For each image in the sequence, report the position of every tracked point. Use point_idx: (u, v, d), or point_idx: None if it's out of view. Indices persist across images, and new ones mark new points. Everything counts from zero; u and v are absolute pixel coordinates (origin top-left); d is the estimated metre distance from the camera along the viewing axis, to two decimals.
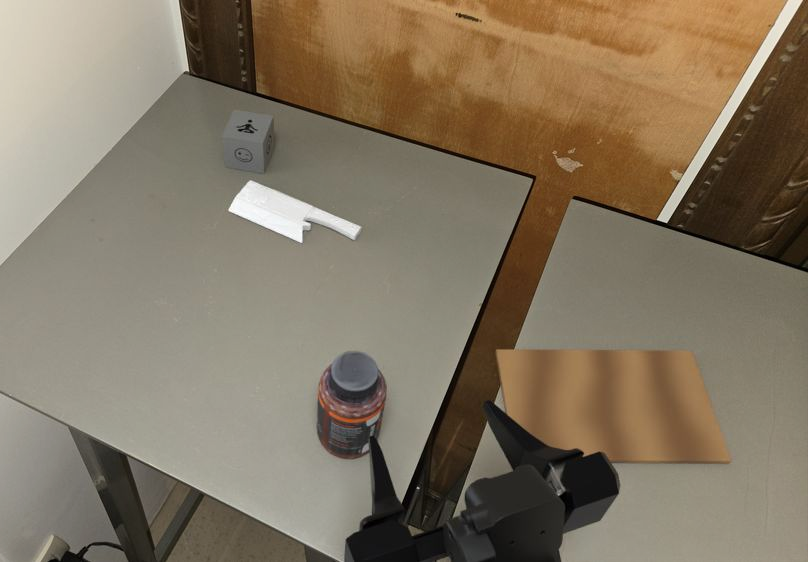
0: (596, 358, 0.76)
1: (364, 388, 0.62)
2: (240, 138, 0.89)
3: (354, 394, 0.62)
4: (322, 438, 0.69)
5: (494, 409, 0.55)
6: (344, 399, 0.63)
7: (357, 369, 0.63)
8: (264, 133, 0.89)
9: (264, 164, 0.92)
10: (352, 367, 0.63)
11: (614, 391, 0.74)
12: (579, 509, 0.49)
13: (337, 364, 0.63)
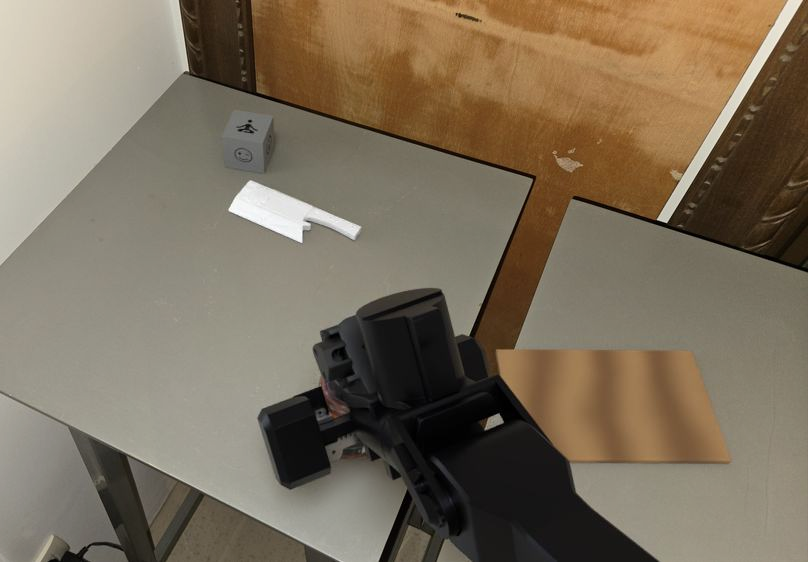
0: (596, 358, 0.76)
1: None
2: (240, 138, 0.89)
3: None
4: None
5: None
6: None
7: None
8: (264, 133, 0.89)
9: (264, 164, 0.92)
10: None
11: (614, 391, 0.74)
12: None
13: None
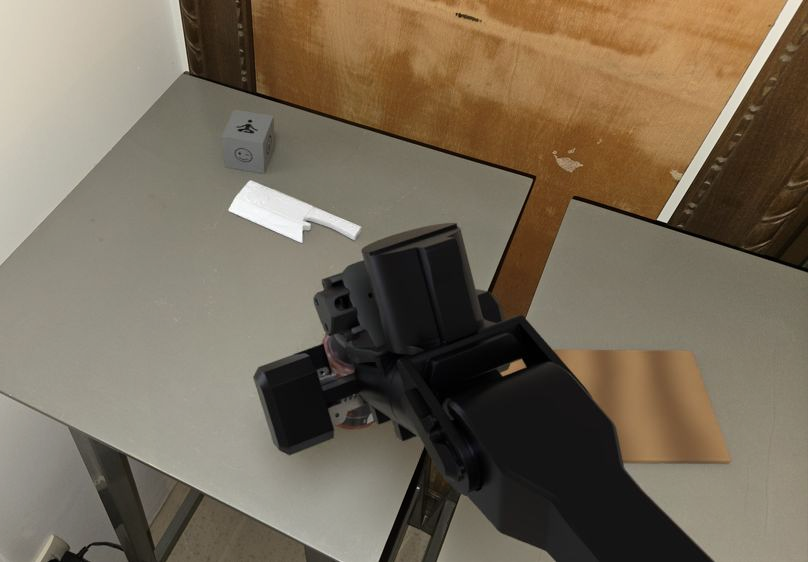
0: (596, 358, 0.76)
1: None
2: (240, 138, 0.89)
3: None
4: None
5: None
6: (348, 361, 0.58)
7: None
8: (264, 133, 0.89)
9: (264, 164, 0.92)
10: None
11: (614, 391, 0.74)
12: None
13: None
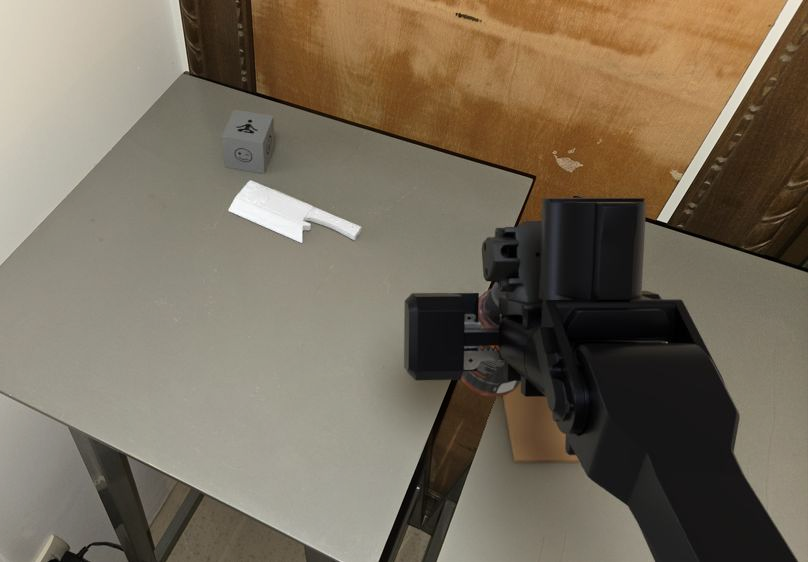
0: None
1: None
2: (240, 138, 0.89)
3: None
4: None
5: None
6: (496, 321, 0.60)
7: None
8: (264, 133, 0.89)
9: (264, 164, 0.92)
10: None
11: None
12: None
13: None
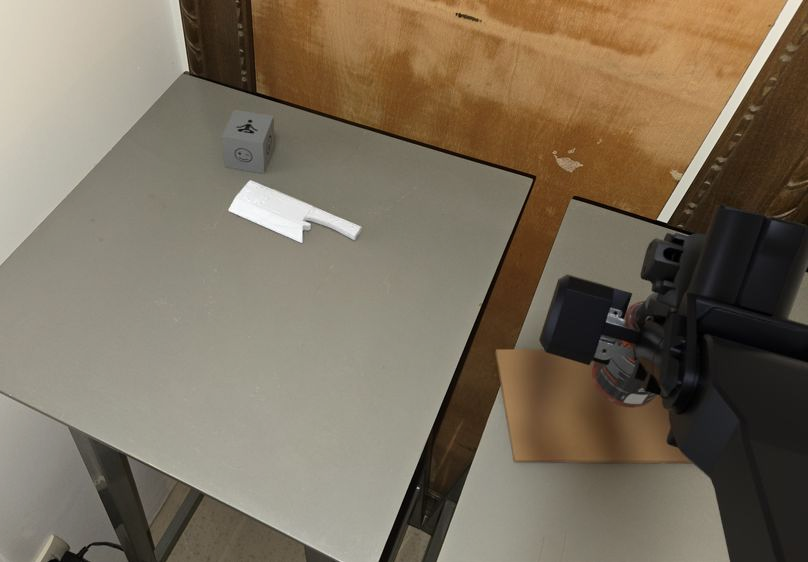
0: None
1: None
2: (240, 138, 0.89)
3: None
4: (596, 366, 0.68)
5: None
6: None
7: None
8: (264, 133, 0.89)
9: (264, 164, 0.92)
10: None
11: None
12: None
13: (657, 295, 0.61)
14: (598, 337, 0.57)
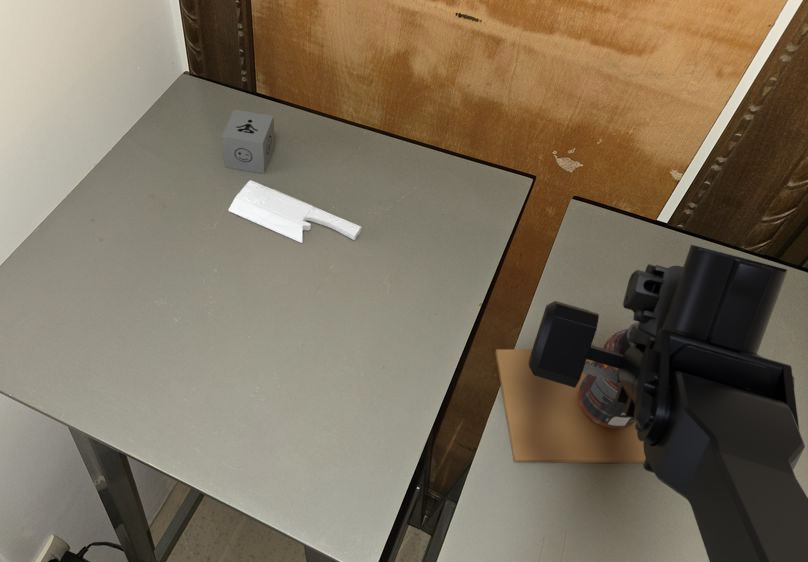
0: None
1: None
2: (240, 138, 0.89)
3: None
4: (582, 389, 0.72)
5: None
6: None
7: None
8: (264, 133, 0.89)
9: (264, 164, 0.92)
10: None
11: None
12: None
13: None
14: (583, 362, 0.60)
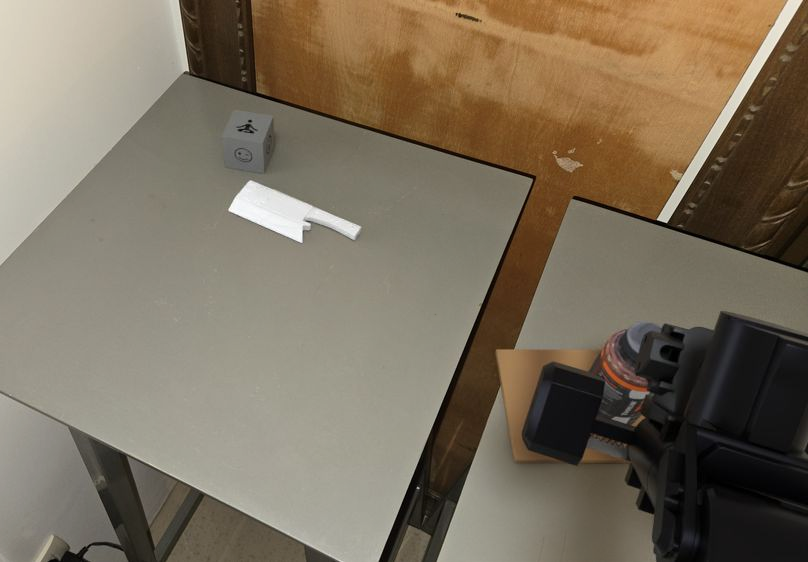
0: None
1: None
2: (240, 138, 0.89)
3: (636, 357, 0.64)
4: None
5: None
6: (624, 357, 0.65)
7: None
8: (264, 133, 0.89)
9: (264, 164, 0.92)
10: None
11: None
12: None
13: (638, 326, 0.65)
14: (587, 437, 0.50)
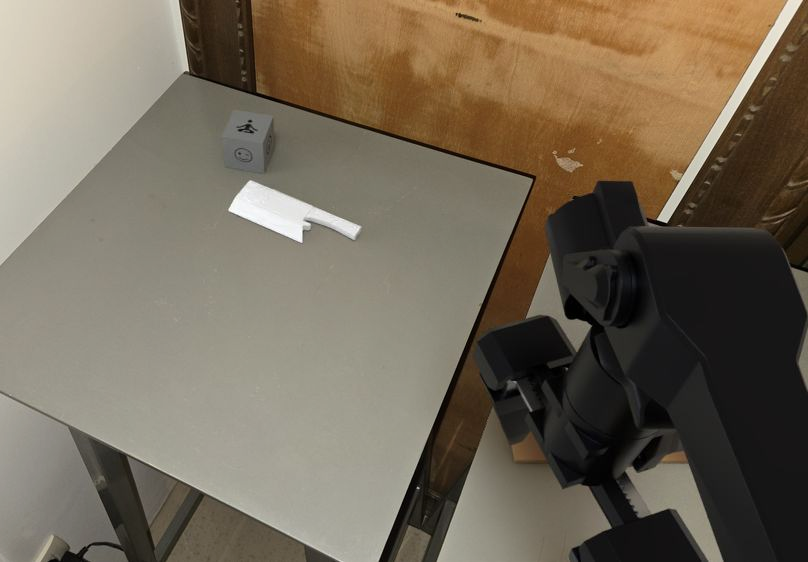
0: None
1: None
2: (240, 138, 0.89)
3: None
4: None
5: None
6: None
7: None
8: (264, 133, 0.89)
9: (264, 164, 0.92)
10: None
11: None
12: (667, 518, 0.43)
13: None
14: (532, 364, 0.49)
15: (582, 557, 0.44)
